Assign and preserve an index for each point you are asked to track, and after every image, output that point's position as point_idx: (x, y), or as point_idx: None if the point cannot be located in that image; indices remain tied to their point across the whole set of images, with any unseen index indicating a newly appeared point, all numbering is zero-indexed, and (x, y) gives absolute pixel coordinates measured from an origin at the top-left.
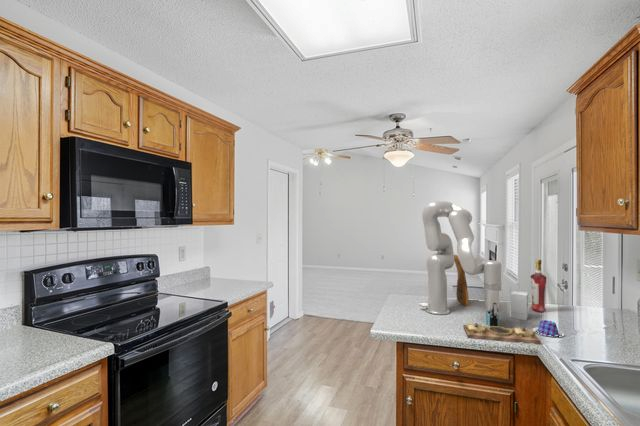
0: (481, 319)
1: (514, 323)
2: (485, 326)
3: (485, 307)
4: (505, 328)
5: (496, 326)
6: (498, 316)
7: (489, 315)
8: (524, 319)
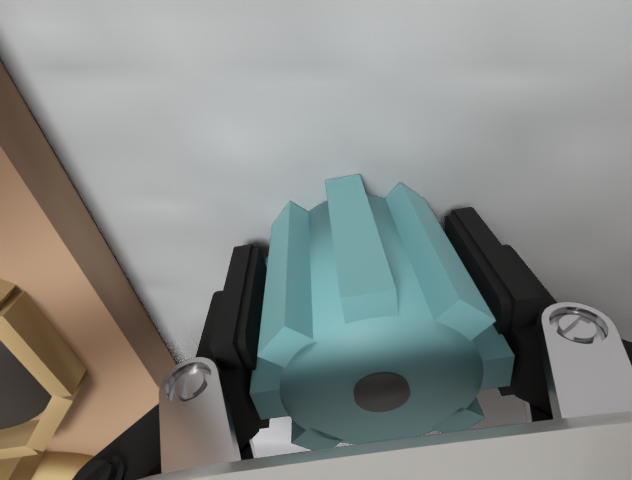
0: (621, 104)
1: (488, 421)
2: (23, 195)
3: (515, 449)
4: (36, 426)
5: (30, 354)
6: (322, 447)
7: (288, 352)
8: None
